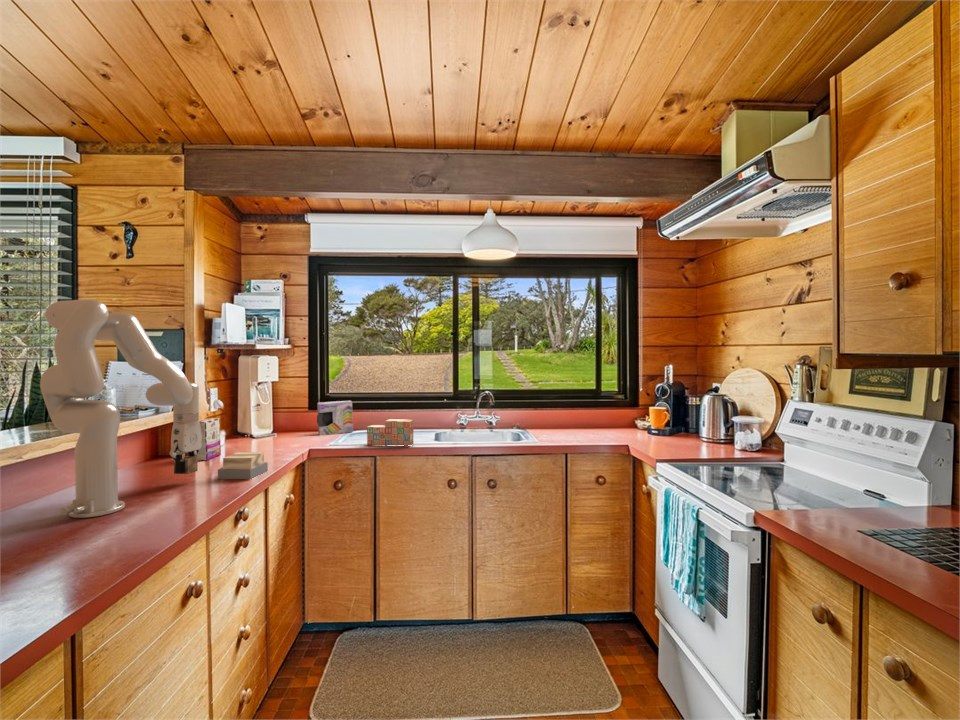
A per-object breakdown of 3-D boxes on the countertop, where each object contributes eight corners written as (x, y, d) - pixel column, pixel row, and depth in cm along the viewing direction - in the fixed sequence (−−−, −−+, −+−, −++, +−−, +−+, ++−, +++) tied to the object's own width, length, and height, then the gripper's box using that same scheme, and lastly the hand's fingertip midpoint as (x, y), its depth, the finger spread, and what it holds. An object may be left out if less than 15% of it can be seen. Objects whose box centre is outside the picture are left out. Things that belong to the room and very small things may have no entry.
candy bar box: (209, 455, 215) (209, 418, 214) (221, 455, 215) (220, 418, 214) (194, 461, 203) (194, 421, 203) (206, 461, 203) (206, 421, 203)
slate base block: (250, 481, 172) (250, 470, 172) (217, 480, 173) (217, 469, 173) (267, 472, 184) (267, 462, 184) (237, 472, 185) (237, 462, 185)
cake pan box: (317, 435, 263) (317, 403, 262) (316, 434, 267) (315, 402, 267) (353, 432, 272) (353, 401, 272) (351, 431, 276) (350, 400, 276)
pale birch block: (251, 469, 173) (251, 458, 173) (223, 469, 173) (223, 458, 173) (263, 462, 183) (263, 452, 183) (237, 462, 183) (237, 452, 183)
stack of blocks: (366, 446, 233) (366, 420, 233) (371, 443, 239) (371, 418, 239) (410, 447, 230) (409, 421, 229) (413, 444, 236) (413, 419, 236)
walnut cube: (187, 474, 165) (188, 459, 165) (173, 473, 166) (173, 459, 166) (197, 470, 170) (197, 456, 170) (183, 470, 171) (183, 456, 171)
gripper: (179, 421, 160) (179, 477, 159) (211, 415, 176) (211, 466, 176) (157, 421, 160) (157, 476, 160) (191, 415, 177) (191, 466, 177)
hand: (185, 470), depth 168 cm, fingers closed on walnut cube, 4 cm apart
